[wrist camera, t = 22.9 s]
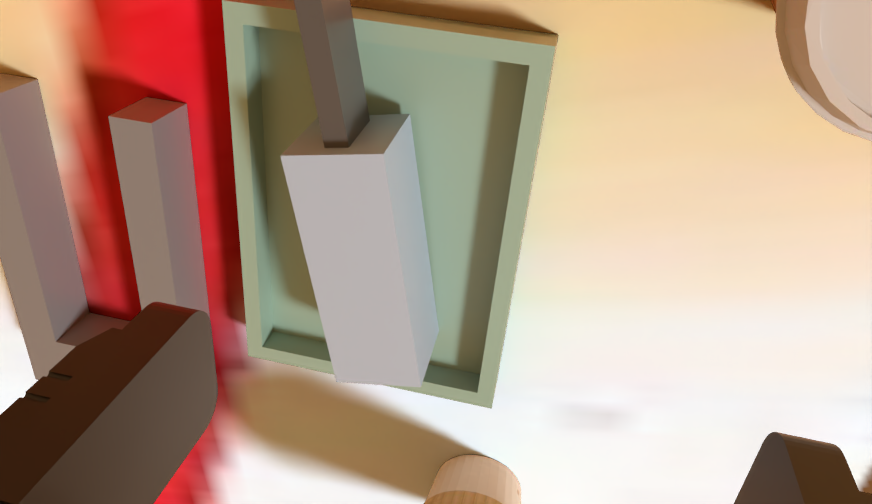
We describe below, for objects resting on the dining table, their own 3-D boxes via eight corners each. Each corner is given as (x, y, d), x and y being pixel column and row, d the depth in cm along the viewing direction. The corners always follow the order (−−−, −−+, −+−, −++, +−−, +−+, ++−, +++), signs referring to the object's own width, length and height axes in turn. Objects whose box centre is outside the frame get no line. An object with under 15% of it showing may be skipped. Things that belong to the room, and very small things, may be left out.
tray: (245, -8, 34) (221, -1, 32) (558, 34, 32) (555, 46, 30) (264, 333, 45) (248, 355, 43) (496, 382, 43) (491, 408, 41)
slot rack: (0, 73, 39) (-49, 89, 36) (186, 103, 38) (151, 123, 35) (69, 349, 50) (35, 379, 47) (216, 381, 49) (191, 415, 46)
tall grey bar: (283, -49, 31) (234, -29, 27) (386, -59, 30) (352, -40, 25) (362, 327, 42) (336, 381, 38) (438, 330, 41) (420, 387, 37)
